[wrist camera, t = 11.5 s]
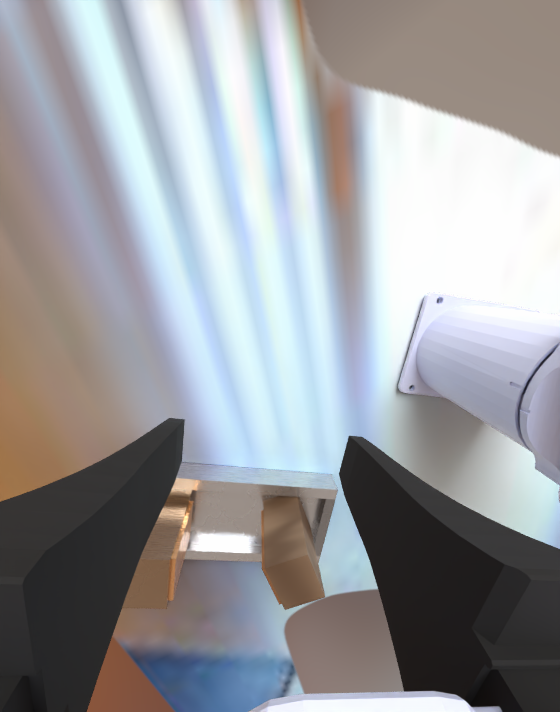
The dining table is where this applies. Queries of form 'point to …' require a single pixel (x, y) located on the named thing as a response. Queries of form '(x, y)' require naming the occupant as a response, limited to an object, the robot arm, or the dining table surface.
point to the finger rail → (220, 522)
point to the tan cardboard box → (289, 552)
